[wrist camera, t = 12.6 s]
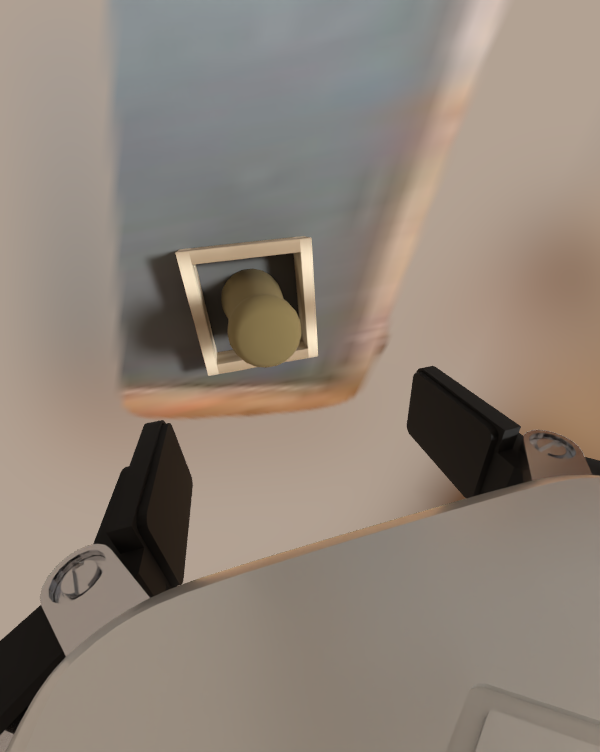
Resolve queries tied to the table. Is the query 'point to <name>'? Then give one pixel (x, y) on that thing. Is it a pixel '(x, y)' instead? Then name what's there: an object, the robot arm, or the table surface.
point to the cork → (259, 319)
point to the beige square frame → (193, 256)
